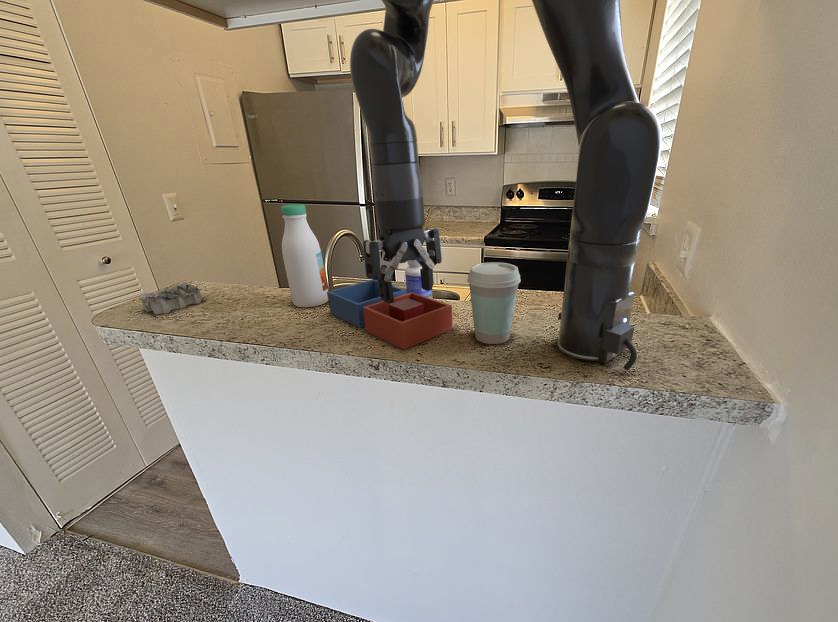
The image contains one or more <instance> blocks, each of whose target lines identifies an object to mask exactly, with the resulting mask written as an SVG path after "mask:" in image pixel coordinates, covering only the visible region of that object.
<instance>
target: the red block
mask: <svg viewBox="0 0 838 622" xmlns="http://www.w3.org/2000/svg"><path fill="white" fill-rule="evenodd" d="M389 313H390V317H392V318H394V319H396V320H399V321H401V322H403V321H405V320H408V319H411V318H414V317H417V316H420V315H422V314H424V304H423V303H420V302H417V301H414V300H411V299H409V298H407V299H404V300H401V301H398V302H395V303H392V304H389Z"/></svg>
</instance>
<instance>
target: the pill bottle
mask: <svg viewBox="0 0 838 622" xmlns="http://www.w3.org/2000/svg"><path fill="white" fill-rule="evenodd" d="M406 263H407V265H408V266H407V267H406V268H405V269H404V277H405V290H406V294H407V293H411V292H413V293H416V294H419V295H422V296H425V297H428V298H431V299H433V289H432V290H430V291H426V290H423V289H422V286H421V274H420V269H422V267H421V266H420V264H419V263H418V262H417V261H416V260H413V261H412V260H408V261H407V262H406Z"/></svg>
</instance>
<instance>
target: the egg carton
mask: <svg viewBox="0 0 838 622" xmlns="http://www.w3.org/2000/svg"><path fill="white" fill-rule="evenodd" d="M201 291H203V288H199V287H198V286H195V285H193V284H191V283H188V282H186V281H183V282H181V283H180V284H177V285H176V286H175V285H174V286H171V287H165V288H164V289H162V290H157V291H154V292H145V293H143V294H141V295H140V296H139V298H138V301H141V303H142V306H143V308H144V310H145V312H147V313H150V312H153V314H154V315H160V314H161V315H163V314H168V313H169V314H170V313H171V311H173V310H178V309H179V310H180V309H184V308H187V306H189V305H197V304H200V303H202V301H203V296H202V294H201Z"/></svg>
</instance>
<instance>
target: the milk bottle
mask: <svg viewBox="0 0 838 622" xmlns="http://www.w3.org/2000/svg"><path fill="white" fill-rule="evenodd" d="M280 212H281V215H282V219H283V220H284V229H283V230H284V231H283V234H282V240H281V253H282V259H283V264H284V269H285V274H286V278H287V283H288V287H289V292H290V297H291V300H292V304H293V305H294V306H296V307H299V308H313V307H314V308H315V307H318V306H321V305H324V304H326V303H328V296H327V291H329V287H328V281H327V277H326V270H325V266H324V260H323V255H322V250H321V246H320V243H319V241H318V239H317V236H316V235H315V234H314V232H313V231H312V229H311V227H310V226H309V222H308V221H307V209H306V205H305V204H302V203H294V204H285V205H282V206H280Z"/></svg>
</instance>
